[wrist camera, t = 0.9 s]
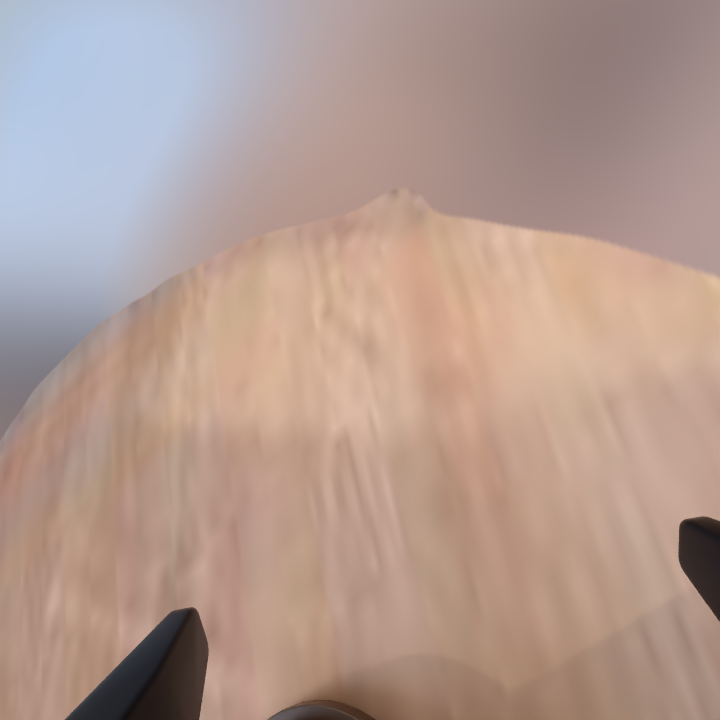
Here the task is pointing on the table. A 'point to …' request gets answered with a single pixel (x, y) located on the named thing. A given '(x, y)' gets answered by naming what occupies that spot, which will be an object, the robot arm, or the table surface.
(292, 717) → the base
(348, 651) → the table surface
